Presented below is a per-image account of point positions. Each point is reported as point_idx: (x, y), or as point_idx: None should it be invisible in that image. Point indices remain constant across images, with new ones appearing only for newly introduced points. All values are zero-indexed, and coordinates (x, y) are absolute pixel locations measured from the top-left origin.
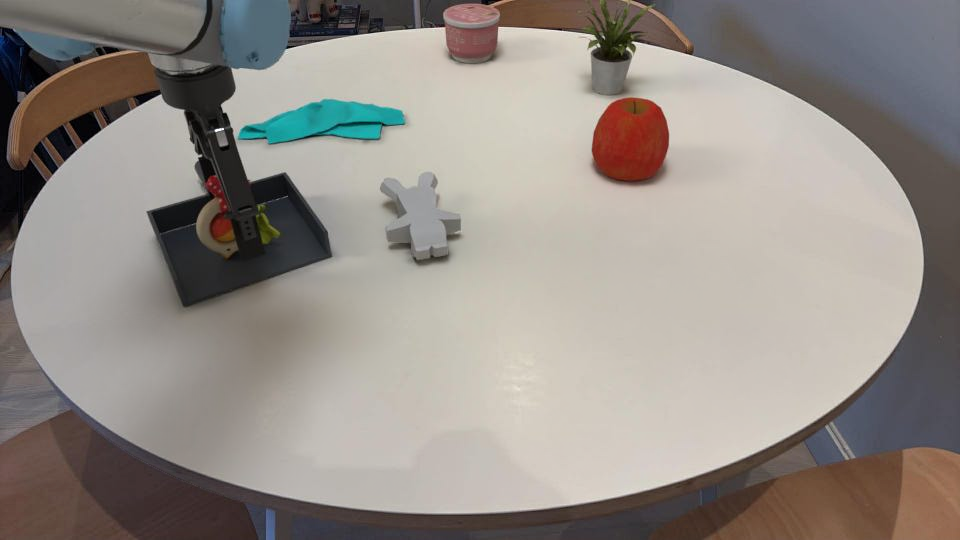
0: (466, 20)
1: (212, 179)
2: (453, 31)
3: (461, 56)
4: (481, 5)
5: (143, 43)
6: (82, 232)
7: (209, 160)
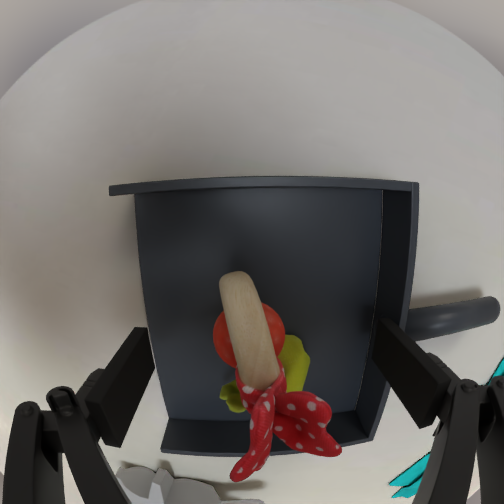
0: None
1: (312, 415)
2: None
3: None
4: None
5: None
6: (442, 86)
7: (426, 399)
